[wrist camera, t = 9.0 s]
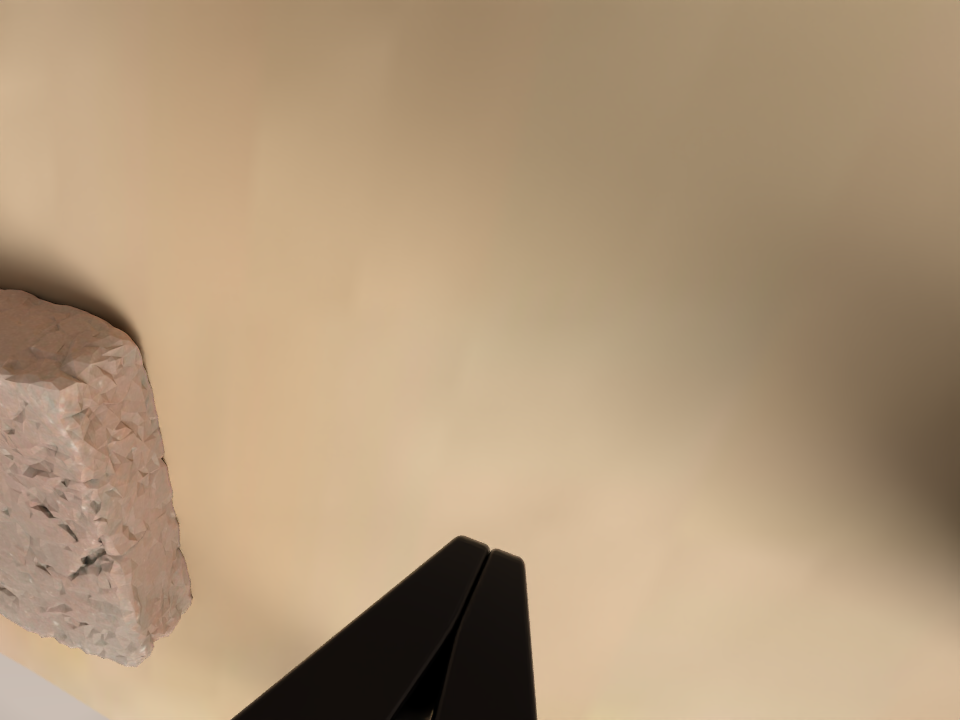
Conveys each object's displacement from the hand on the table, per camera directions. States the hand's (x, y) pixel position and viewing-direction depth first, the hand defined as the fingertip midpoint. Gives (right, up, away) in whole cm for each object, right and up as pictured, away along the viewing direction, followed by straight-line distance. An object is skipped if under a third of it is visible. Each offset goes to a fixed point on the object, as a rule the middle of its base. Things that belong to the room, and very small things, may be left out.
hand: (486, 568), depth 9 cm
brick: (-17, -2, +23) cm, 28 cm away
